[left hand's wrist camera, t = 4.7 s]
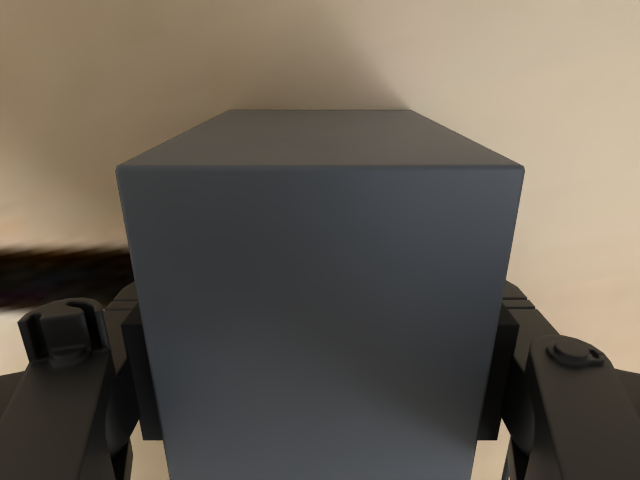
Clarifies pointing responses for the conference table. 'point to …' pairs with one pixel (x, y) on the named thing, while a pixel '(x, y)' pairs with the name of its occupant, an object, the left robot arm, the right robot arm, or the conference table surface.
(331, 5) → the conference table surface
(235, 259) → the post
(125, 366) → the left robot arm
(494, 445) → the conference table surface
